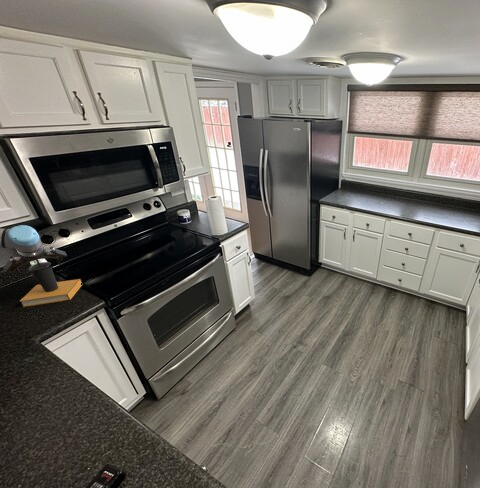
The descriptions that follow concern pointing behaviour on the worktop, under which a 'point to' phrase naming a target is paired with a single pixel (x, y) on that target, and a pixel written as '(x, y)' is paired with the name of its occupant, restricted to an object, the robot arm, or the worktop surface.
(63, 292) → the book
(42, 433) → the worktop surface
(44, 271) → the drinking cup
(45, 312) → the worktop surface
